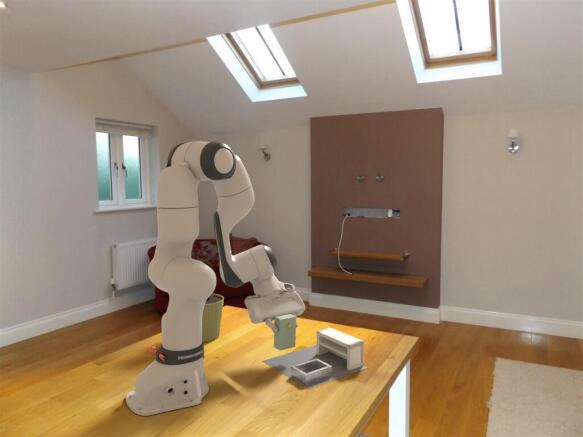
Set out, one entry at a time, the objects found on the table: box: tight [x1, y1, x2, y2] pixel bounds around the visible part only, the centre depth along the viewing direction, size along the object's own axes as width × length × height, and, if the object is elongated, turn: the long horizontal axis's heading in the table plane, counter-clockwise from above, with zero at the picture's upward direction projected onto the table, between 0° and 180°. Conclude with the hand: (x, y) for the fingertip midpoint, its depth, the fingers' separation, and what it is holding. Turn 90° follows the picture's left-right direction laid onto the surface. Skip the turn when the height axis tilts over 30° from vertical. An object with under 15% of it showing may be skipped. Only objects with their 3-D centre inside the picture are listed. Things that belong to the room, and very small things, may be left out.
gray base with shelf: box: [262, 327, 369, 390], centre depth 146 cm, size 24×24×9 cm
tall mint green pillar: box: [273, 314, 297, 352], centre depth 147 cm, size 6×4×10 cm
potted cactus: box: [199, 259, 225, 343], centre depth 172 cm, size 15×15×30 cm
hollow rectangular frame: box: [291, 359, 332, 385], centre depth 138 cm, size 10×7×3 cm
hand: (286, 329), depth 147 cm, fingers closed on tall mint green pillar, 6 cm apart
